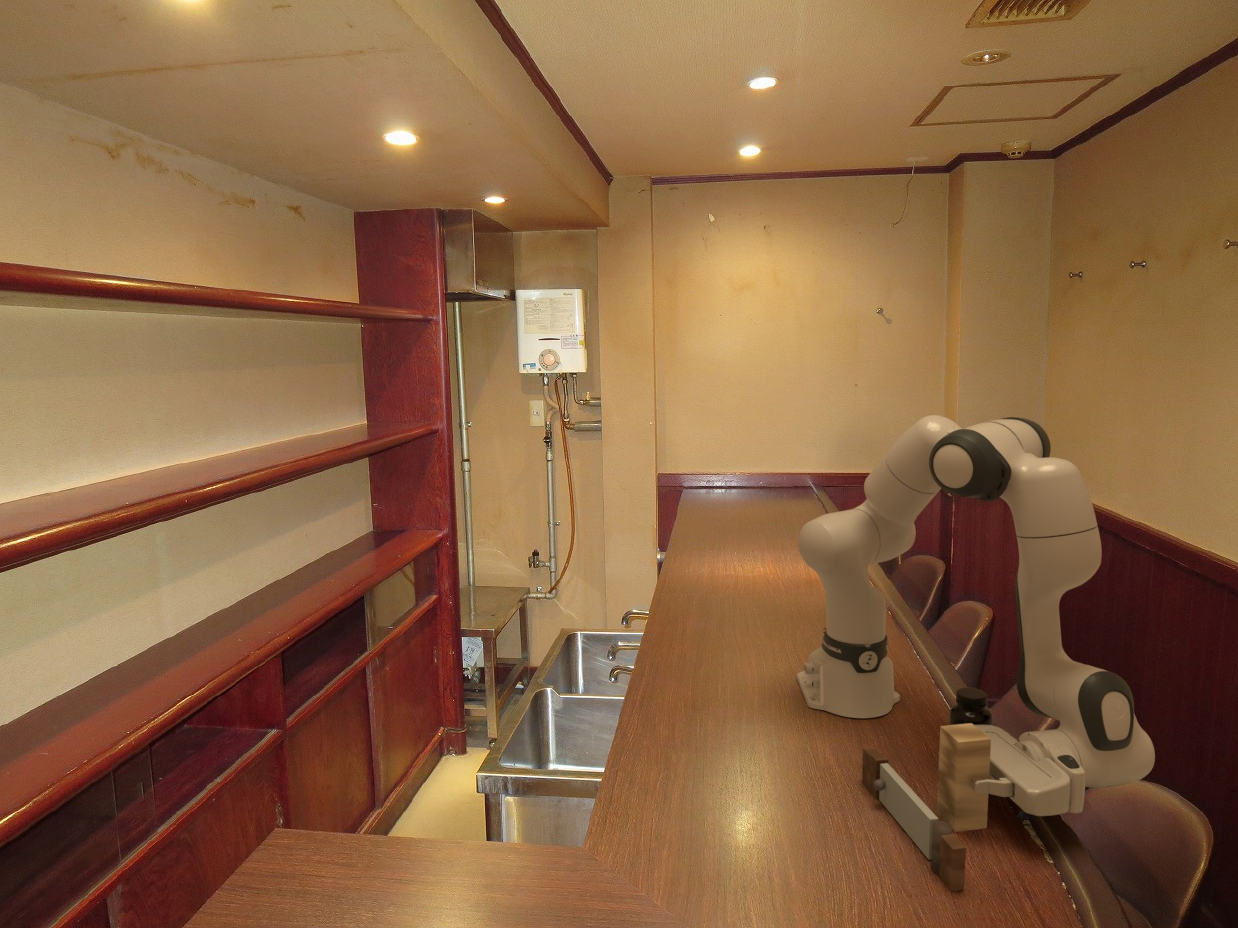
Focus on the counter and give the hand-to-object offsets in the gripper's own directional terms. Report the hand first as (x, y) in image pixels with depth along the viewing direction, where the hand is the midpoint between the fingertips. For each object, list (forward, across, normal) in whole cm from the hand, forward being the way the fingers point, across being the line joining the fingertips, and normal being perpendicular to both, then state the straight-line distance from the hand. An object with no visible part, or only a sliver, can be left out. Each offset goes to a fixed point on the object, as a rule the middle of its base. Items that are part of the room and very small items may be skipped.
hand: (957, 770), depth 120 cm
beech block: (-1, 0, +8) cm, 8 cm away
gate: (+9, +1, +8) cm, 12 cm away
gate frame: (+8, +1, +8) cm, 11 cm away
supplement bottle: (-12, -16, +8) cm, 22 cm away
